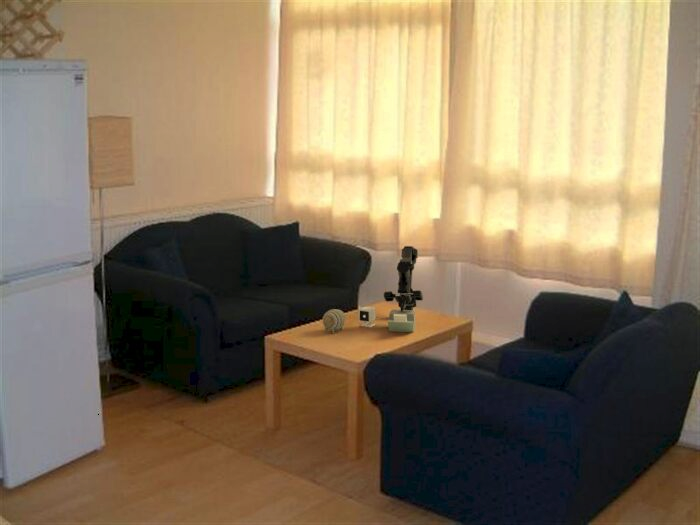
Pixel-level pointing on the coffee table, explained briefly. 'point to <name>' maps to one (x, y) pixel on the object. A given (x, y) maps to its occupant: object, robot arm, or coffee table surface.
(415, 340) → the coffee table surface
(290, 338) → the coffee table surface
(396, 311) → the green napkin box
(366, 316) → the security camera
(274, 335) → the coffee table surface
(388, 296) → the robot arm
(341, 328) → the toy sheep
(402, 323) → the green envelope with card
